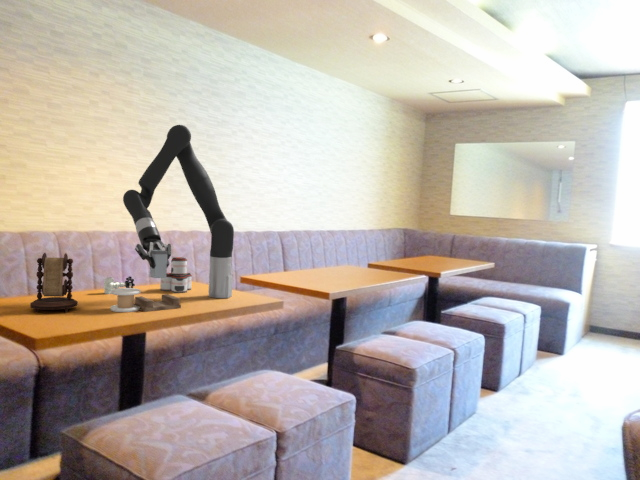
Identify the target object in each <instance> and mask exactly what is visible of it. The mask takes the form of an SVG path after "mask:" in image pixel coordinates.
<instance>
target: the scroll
mask: <svg viewBox="0 0 640 480" xmlns="http://www.w3.org/2000/svg"><path fill="white" fill-rule="evenodd" d="M36 262H37V269H36V270H37V271H36V274H35V275H36V277H37V279H38V280H37V282H36V283H37V285H36V289H37V291H36V292H37V295H36V298H37V299H35V300H33V301H32V302H30V306H29V307H30V309H33V312H34V313H35V314H36V313H38V310H40V311H41V310H43V311H56V310H64V312H65V313H67V312H68V311H69V309H73V308H75V307H78V305H79V303H78V301H77V300H76V299H74V298H73V293H72V292H73V291H72V290H73V285H72V284H73V281H72V279H73V277H74V272H73V267H72V266H73V263H74V260H73V258H68V254H67V252H65V253H64V255H63V257H51V256H49V257H48V256H47V253H46V252H43V254H42V256H41V257H39V258H37V260H36ZM66 269H67V272H66V273H65V271H66ZM65 277H67V279H63V278H65ZM63 280H64V281H63ZM64 296H66V297H64Z"/></svg>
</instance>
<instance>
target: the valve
mask: <svg viewBox="0 0 640 480" xmlns="http://www.w3.org/2000/svg"><path fill="white" fill-rule="evenodd" d="M134 279H135V278H132V276H130V275H129V276H127V277H126V278H125V281H124V282H118V281H114V277H104V283H103V288H104V291H103V292H104V295H112V294H111V290H112V289H117V288H134V287H135V285H136V284H135V283H134V282H135V280H134Z"/></svg>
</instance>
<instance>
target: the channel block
mask: <svg viewBox="0 0 640 480" xmlns="http://www.w3.org/2000/svg"><path fill="white" fill-rule="evenodd" d="M134 305H137V306H139V307H140V310H139V311H142V312H144V313H147V312H155V311H163V310H174V309H182V305H181V298H180V297H178V296H174V295H172V294H168V293H167V294H166V293H165V294H161V300H159V301H154V300H153V299H149V298H147V297H144V296H140V295H139V296H134Z"/></svg>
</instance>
